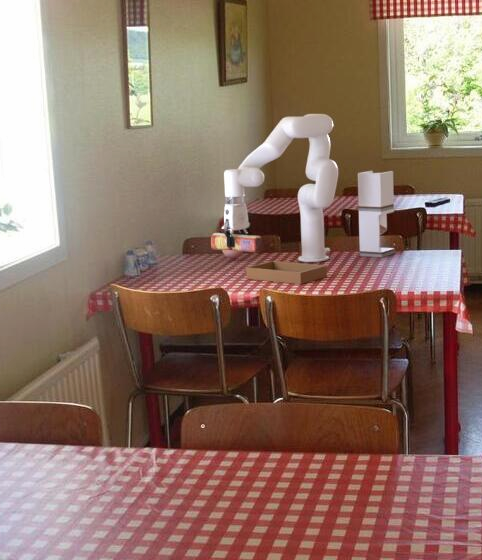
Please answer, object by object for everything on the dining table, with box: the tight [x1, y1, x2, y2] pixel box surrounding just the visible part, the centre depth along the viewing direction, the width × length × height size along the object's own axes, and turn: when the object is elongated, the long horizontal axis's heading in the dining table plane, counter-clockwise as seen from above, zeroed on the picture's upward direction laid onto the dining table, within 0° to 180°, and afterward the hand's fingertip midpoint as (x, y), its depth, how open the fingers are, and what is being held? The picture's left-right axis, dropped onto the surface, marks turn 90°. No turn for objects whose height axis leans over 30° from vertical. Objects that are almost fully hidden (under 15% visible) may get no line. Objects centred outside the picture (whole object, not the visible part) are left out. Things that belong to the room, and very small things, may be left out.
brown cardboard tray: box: [245, 260, 328, 285], centre depth 375 cm, size 17×26×4 cm, turn 56°
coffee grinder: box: [357, 170, 396, 258], centre depth 420 cm, size 11×11×35 cm
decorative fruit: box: [221, 250, 244, 261], centre depth 418 cm, size 9×8×10 cm
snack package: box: [210, 232, 264, 254], centre depth 393 cm, size 21×7×7 cm, turn 63°
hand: (236, 245), depth 393 cm, fingers closed on snack package, 7 cm apart
